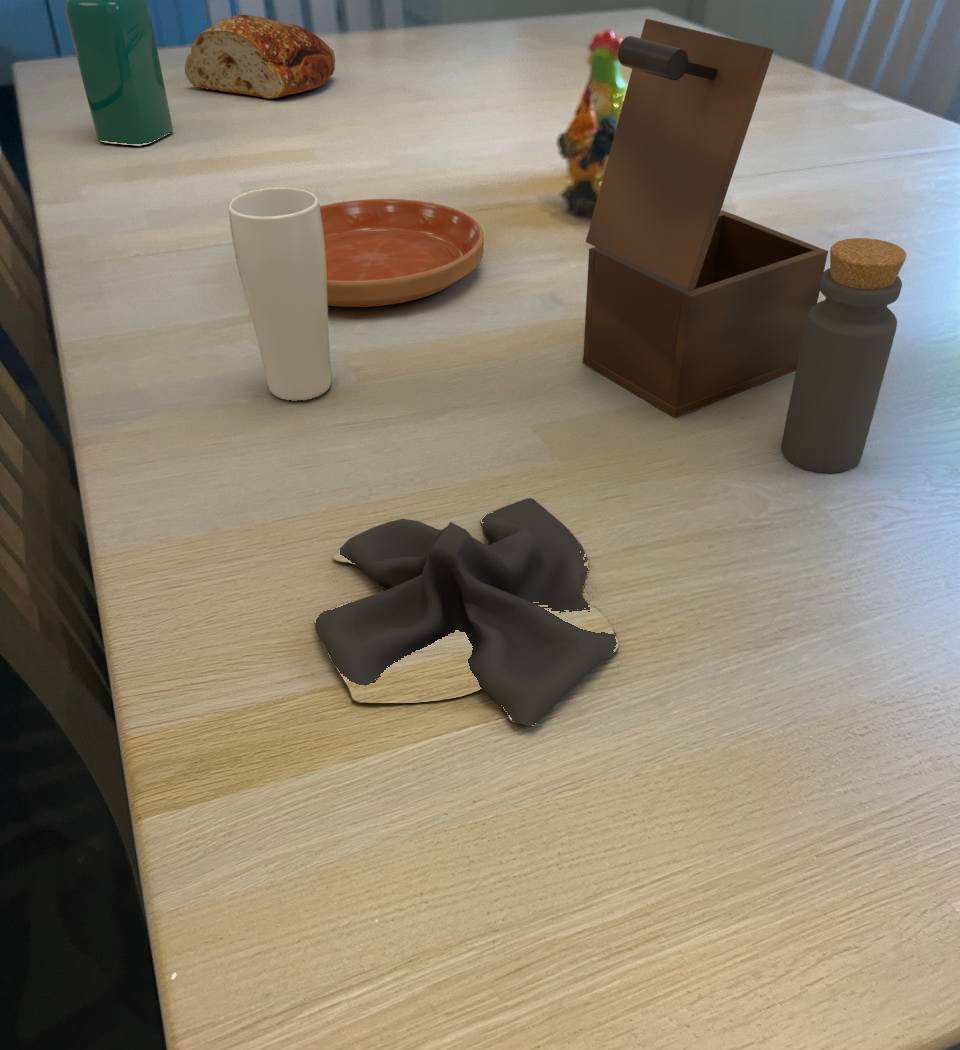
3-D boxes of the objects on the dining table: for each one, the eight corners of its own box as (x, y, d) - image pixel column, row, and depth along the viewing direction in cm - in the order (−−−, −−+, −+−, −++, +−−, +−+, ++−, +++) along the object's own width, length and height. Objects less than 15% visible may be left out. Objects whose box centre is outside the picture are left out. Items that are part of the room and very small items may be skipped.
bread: (184, 89, 158) (170, 15, 152) (265, 65, 169) (256, -5, 163) (280, 107, 149) (270, 30, 143) (359, 81, 160) (353, 7, 154)
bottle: (877, 466, 74) (935, 261, 64) (805, 479, 72) (853, 273, 62) (834, 427, 78) (882, 229, 68) (765, 439, 77) (804, 240, 67)
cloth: (620, 738, 54) (630, 653, 50) (280, 720, 55) (262, 636, 51) (616, 503, 71) (622, 425, 66) (353, 494, 72) (344, 416, 68)
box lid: (653, 20, 72) (596, 3, 69) (774, 49, 65) (717, 31, 62) (592, 242, 80) (538, 237, 77) (694, 290, 73) (639, 286, 69)
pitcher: (145, 149, 135) (102, -49, 120) (92, 144, 137) (42, -51, 122) (184, 128, 142) (147, -61, 127) (132, 124, 144) (90, -63, 129)
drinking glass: (298, 362, 87) (272, 180, 78) (358, 382, 84) (338, 196, 75) (242, 393, 83) (206, 206, 73) (302, 416, 80) (274, 224, 70)
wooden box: (707, 319, 93) (722, 209, 86) (803, 367, 85) (828, 250, 79) (582, 363, 87) (588, 248, 80) (674, 418, 79) (690, 296, 73)
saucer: (212, 300, 98) (204, 262, 95) (324, 221, 113) (320, 186, 111) (429, 335, 91) (426, 295, 89) (516, 246, 107) (516, 210, 104)
